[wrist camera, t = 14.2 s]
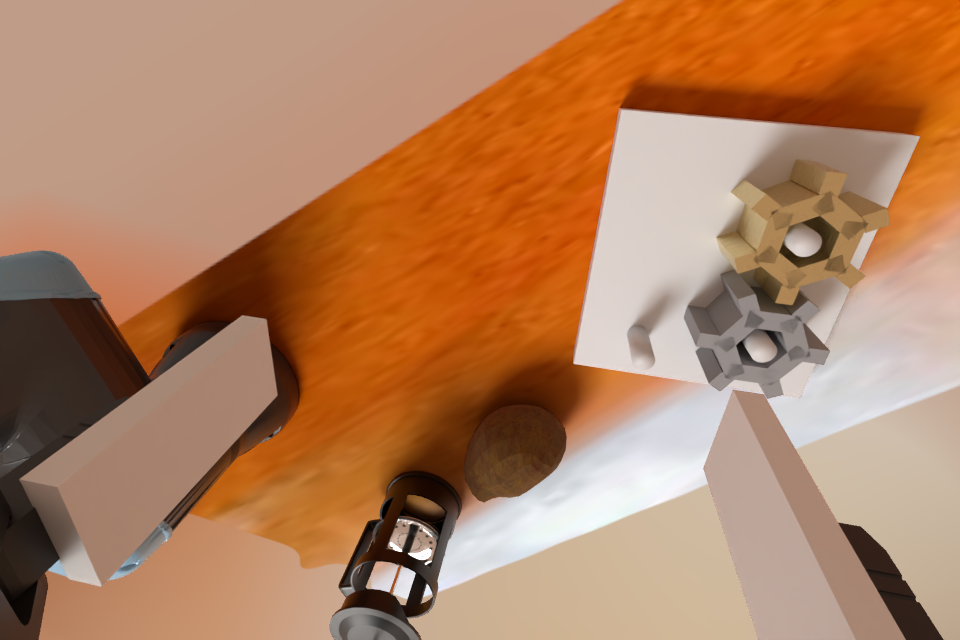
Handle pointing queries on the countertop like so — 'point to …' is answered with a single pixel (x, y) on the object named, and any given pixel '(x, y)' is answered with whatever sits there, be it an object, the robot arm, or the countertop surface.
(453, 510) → the french press
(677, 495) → the countertop surface
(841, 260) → the brass gear
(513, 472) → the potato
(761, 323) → the gear board
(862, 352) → the countertop surface
